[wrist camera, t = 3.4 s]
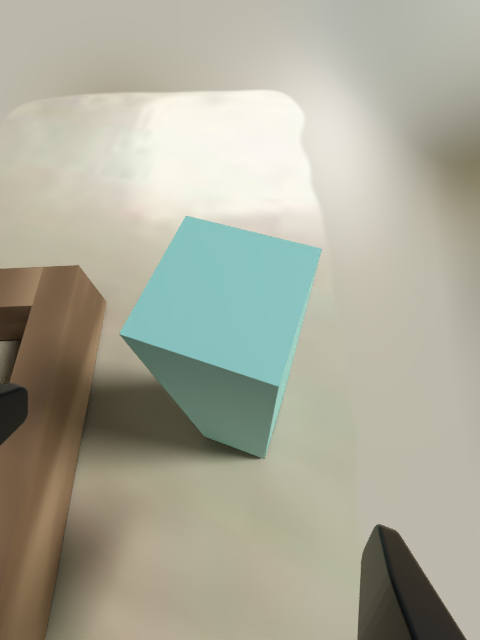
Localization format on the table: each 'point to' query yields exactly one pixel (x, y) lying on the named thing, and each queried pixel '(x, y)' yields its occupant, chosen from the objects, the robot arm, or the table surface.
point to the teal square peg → (224, 327)
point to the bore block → (42, 432)
